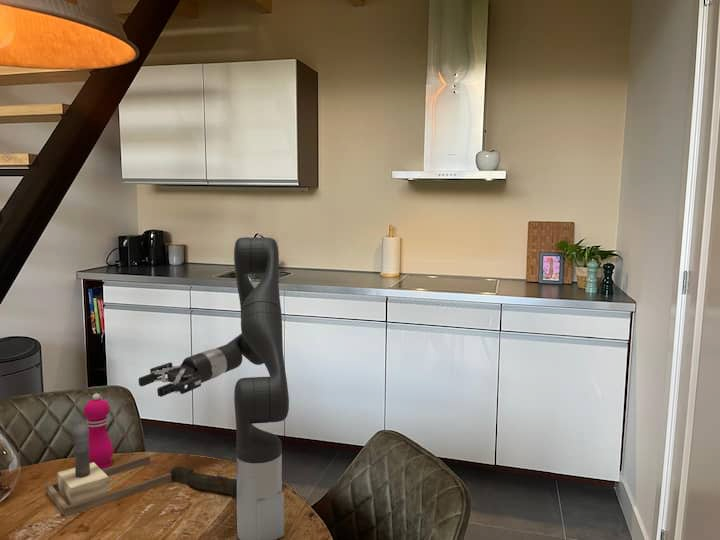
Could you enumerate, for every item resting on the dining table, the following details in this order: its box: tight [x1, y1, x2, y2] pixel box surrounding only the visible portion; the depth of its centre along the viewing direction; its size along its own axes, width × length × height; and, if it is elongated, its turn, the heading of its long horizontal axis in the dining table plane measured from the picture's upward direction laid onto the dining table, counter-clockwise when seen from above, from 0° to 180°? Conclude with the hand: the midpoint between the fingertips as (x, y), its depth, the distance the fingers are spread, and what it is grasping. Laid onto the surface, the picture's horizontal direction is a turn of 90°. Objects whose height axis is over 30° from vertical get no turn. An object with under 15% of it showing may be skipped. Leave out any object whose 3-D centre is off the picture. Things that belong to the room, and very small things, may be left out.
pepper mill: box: [83, 393, 115, 469], centre depth 147 cm, size 7×7×20 cm
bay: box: [45, 455, 173, 518], centre depth 136 cm, size 14×24×3 cm, turn 133°
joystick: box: [57, 421, 111, 505], centre depth 131 cm, size 10×8×17 cm
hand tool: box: [169, 466, 237, 499], centre depth 138 cm, size 19×4×5 cm, turn 71°
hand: (148, 387), depth 139 cm, fingers open, 8 cm apart
